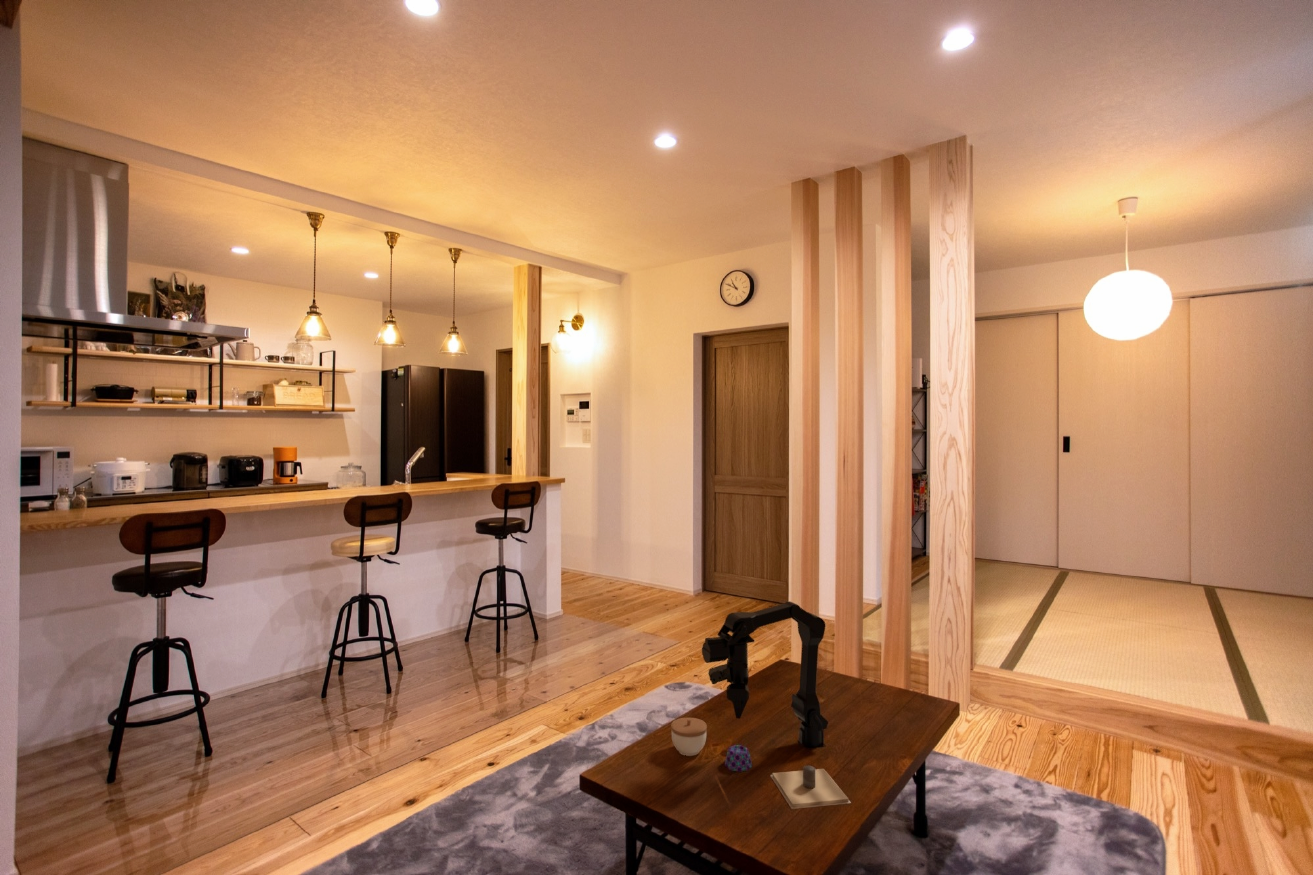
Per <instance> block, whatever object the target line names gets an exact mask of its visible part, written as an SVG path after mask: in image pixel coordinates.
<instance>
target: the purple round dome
mask: <svg viewBox="0 0 1313 875" xmlns="http://www.w3.org/2000/svg"><path fill="white" fill-rule="evenodd" d="M725 756H726V757H725V759H724V767H726V768H728V770H730V771H735V772H740V773H741V772H745V771H746V772H747V771H749V770H750V769H751V768H752V767H753V763H752V760H751V759H752V758H751V754H750V751H749V749H748V747H746V746H743V745H741V744H738V745H735V744H734V745H732V746H729V747H728V749H727V752H726V755H725Z"/></svg>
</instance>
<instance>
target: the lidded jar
mask: <svg viewBox="0 0 1313 875" xmlns="http://www.w3.org/2000/svg"><path fill="white" fill-rule="evenodd" d="M670 729H671V731H670V732H671V740H672V744H673V747H675V749H676V750H677V751H678V753H679V754H681V755H682V756H685V755H686V757H693V756H697V755H698V754H699V753H700V751H702V749H703V748H704V747H705V744H706V740H707V733H708V732H707V730H708V725H707V723H706V722H705V721H704V720H702V719H701V718H700V719H699V718H696V717H681V718H678V719H675V720H673V721H672V722H671V724H670Z"/></svg>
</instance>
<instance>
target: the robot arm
mask: <svg viewBox="0 0 1313 875" xmlns="http://www.w3.org/2000/svg"><path fill="white" fill-rule="evenodd" d="M789 619H792V620H793V621H795V622H796V623H797V632H798V635H799V638H800V641H801V658H800V671H799V672H800V676H799V688H798V691H797V692H796V693H792V694H791V705H790V707H791V708H792V712H793V713H794V715H795V716H796V717H797V719H798V721H800V727H799V728H798V742H799V744H801V745H802V747H804V748H805V749H817V748H826V747H827V745H825V742H824V741H825V740H824V738H825V737H824V736H825V734H824V732H825V729H827V728H828V724H829V721H828V720H827V719H826V718H825V717H824V716H823V715H822V712H821V704H820V701H819V698H818V695H817V694H818V693H817V678H818V677H817V674H818V660H819V659H818V658H819V645H820V644H821V642H822V641H823V639H824V637H825V636H824V635H825V632H826V622H825V620H824V619H823V618H822V617H820V616H818V615H816V614H814V613H811V612H808V611H806V610H805V609H803V608H802V607H800V605H799V604H797V603H795V602H793V601H785V602H783V603H781V604H778V605H773V606H769V607H767V608H762V609H760V610H756V611H749V612H748V611H738V612H735V611H734V612H731V613H728V614H727V616H726V618H725V621H724V623H723V625H722V626H721V628H720V630H719V631H718V633H717V636H716V637H705V639H704V642H703V644H702V647H701V654H702V658H703V660H704V662H705V663H706V664H711V663H717V662H724V661H726V663H724V664H721V665H717V666H714V667H711V668H709V669H708V677H709V681H710V682H711V685H716V684H717V683H720V682H723V681H726V683H729V684H728V685H727V686H726V699H727V700H728V701H730V702H731V703H732V707H733V709H734V714H735V718H736V719H740V718H741V717H742V715H743V712H744V710H745V708H746V706H747V704H748V702H749V700H750V693H749V692H750V688H749V686H748V683H749V673H750V672H749V663H748V660H749V659H748V657H749V656H748V655H749V654H748V653H749V652H748V644H749V643H755V639H754V638H752V636H751V635H752V634H753V633H754V632H756V630H757V629H760V628H761V627H765V626H769V625H772V624H775V623H779V622H782V621H785V620H789ZM731 634H732V635H731Z"/></svg>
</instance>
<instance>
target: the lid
mask: <svg viewBox="0 0 1313 875" xmlns="http://www.w3.org/2000/svg"><path fill="white" fill-rule="evenodd" d="M771 775H772V776H773V778H774V779H775V781H776V782H777V784H778V785H779V787H780V788H781V790H782V792H783V793H784V795H785V796H786V798H787V799H788V801H789V802H790V804H791V805H792V807H802V806H812V805H823V804H833V803H843V802H849V801H850V799H849V797H848V796H847V794H845V793H844V790H842V789H841V788H840V787H839V785H838V784H837V783H836V782H835V780H834V779H833V778H832V777H831V775H830V774H829V773H828V771H826V770H825V768H817V769H816V767H814V766H812V765H804V766H803V767H802V770H792V771H785V772H784V771H782V772H772V773H771Z"/></svg>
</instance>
